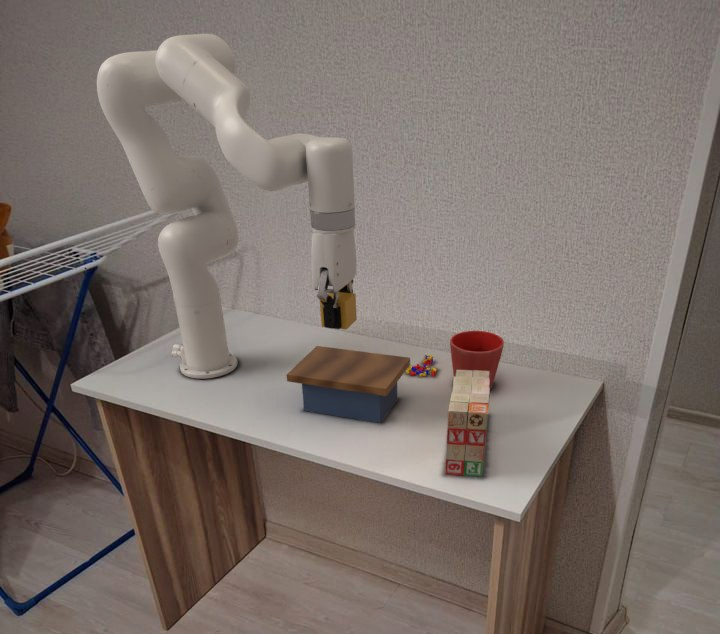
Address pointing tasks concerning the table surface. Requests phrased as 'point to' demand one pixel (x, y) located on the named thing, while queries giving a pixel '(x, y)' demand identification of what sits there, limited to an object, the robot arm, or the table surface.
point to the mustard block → (344, 309)
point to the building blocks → (427, 361)
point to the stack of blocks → (467, 423)
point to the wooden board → (349, 370)
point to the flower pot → (476, 352)
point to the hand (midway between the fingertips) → (339, 321)
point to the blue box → (348, 402)
